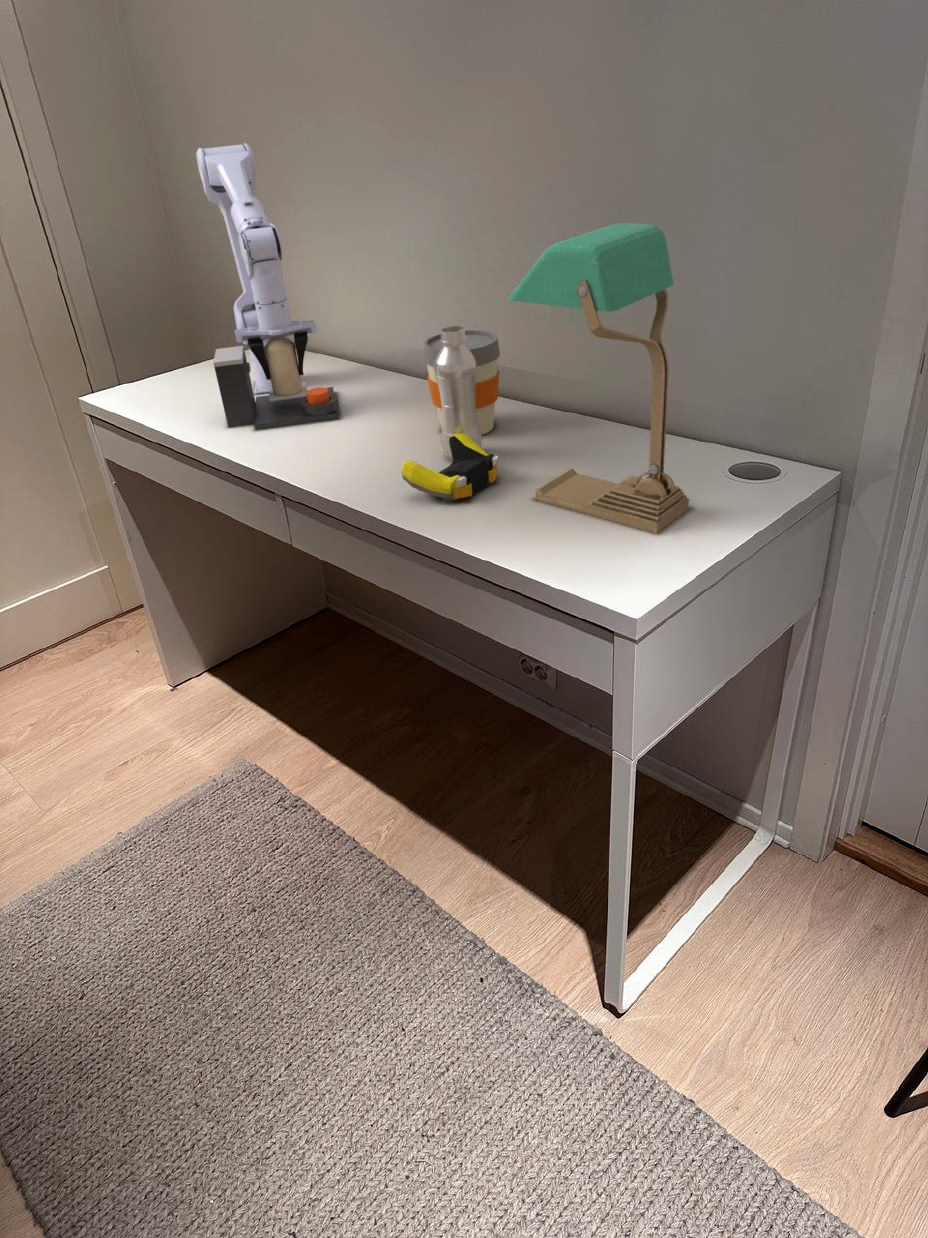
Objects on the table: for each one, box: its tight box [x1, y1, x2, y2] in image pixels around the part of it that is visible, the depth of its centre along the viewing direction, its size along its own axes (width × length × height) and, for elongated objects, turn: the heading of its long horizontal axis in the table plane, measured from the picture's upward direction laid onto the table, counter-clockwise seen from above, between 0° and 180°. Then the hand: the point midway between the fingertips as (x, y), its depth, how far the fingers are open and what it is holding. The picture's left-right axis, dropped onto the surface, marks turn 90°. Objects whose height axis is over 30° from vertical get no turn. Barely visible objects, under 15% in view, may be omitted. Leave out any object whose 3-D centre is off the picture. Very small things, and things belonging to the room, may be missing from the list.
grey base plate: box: [253, 386, 340, 431], centre depth 164 cm, size 16×15×3 cm
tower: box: [212, 345, 308, 428], centre depth 162 cm, size 10×15×12 cm
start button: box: [306, 386, 330, 404], centre depth 159 cm, size 4×4×2 cm
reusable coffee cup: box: [423, 329, 501, 436], centre depth 146 cm, size 13×13×15 cm
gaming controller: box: [401, 433, 499, 502], centre depth 129 cm, size 15×6×10 cm
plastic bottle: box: [434, 325, 483, 459], centre depth 135 cm, size 6×7×20 cm
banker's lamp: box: [507, 222, 690, 534], centre depth 112 cm, size 16×21×35 cm
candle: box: [264, 336, 303, 396], centre depth 162 cm, size 6×6×10 cm
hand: (284, 376), depth 163 cm, fingers closed on candle, 5 cm apart
